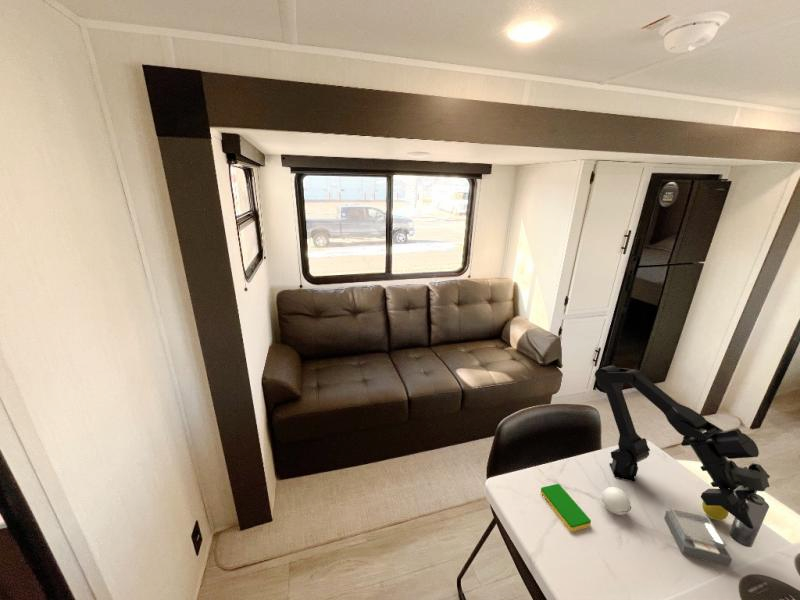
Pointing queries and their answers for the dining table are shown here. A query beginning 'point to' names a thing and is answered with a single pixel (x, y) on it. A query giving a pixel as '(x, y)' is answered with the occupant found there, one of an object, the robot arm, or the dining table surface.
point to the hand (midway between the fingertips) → (755, 524)
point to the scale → (697, 536)
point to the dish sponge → (565, 507)
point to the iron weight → (756, 514)
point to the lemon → (715, 511)
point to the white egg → (616, 501)
